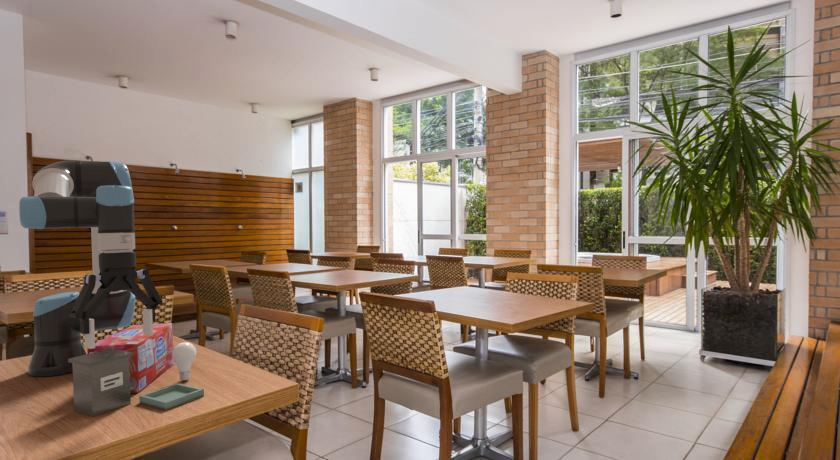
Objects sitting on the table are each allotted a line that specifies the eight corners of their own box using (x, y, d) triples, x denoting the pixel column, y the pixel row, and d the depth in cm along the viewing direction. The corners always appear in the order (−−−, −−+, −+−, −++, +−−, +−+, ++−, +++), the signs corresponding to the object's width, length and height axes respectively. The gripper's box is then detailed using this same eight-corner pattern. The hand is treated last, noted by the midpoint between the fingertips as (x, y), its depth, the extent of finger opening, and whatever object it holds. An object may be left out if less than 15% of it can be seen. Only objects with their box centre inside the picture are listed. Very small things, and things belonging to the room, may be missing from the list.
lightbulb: (187, 385, 138) (186, 345, 138) (167, 384, 139) (166, 344, 139) (201, 377, 144) (200, 340, 144) (182, 376, 146) (181, 339, 145)
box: (132, 366, 157) (130, 323, 157) (175, 364, 159) (174, 321, 158) (86, 397, 130) (84, 346, 130) (139, 394, 132) (137, 343, 131)
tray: (139, 403, 125) (139, 395, 125) (177, 389, 135) (177, 383, 134) (166, 410, 120) (166, 402, 120) (204, 395, 129) (203, 389, 129)
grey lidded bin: (70, 411, 121) (68, 358, 120) (113, 397, 130) (111, 348, 129) (91, 418, 116) (89, 363, 116) (134, 403, 125) (132, 352, 125)
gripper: (67, 255, 105) (71, 355, 105) (175, 248, 127) (178, 331, 127) (49, 255, 108) (52, 352, 109) (157, 248, 130) (160, 329, 130)
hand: (120, 341), depth 118 cm, fingers open, 13 cm apart
